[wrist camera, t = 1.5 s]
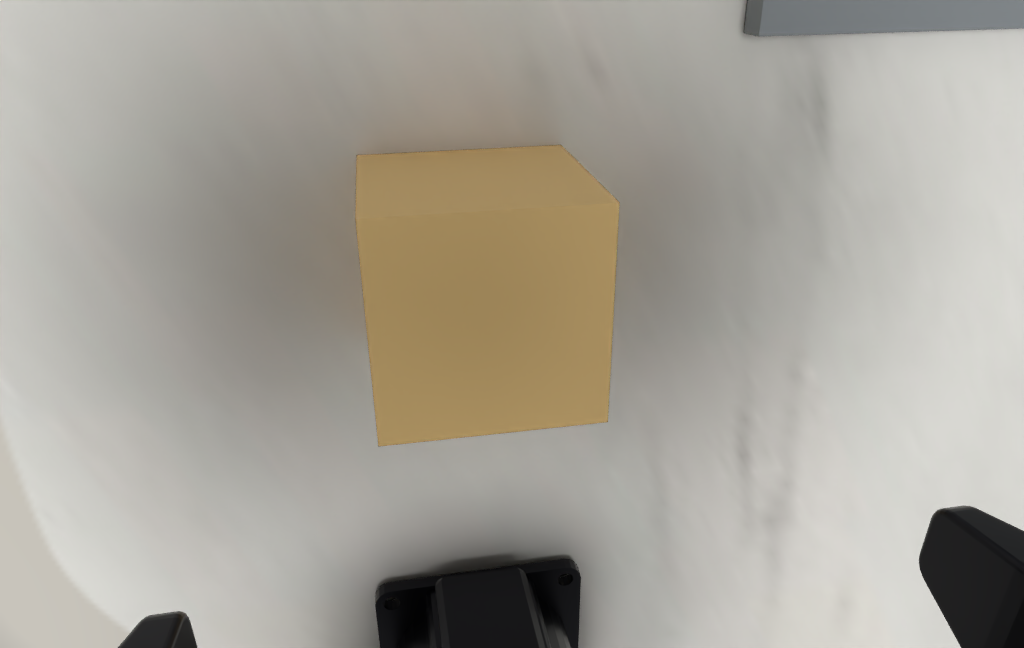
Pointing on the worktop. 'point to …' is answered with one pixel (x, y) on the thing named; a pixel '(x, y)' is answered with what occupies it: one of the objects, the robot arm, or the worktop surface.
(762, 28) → the grey mat
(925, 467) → the worktop surface
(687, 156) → the worktop surface
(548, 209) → the ochre cube
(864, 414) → the worktop surface
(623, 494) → the worktop surface
